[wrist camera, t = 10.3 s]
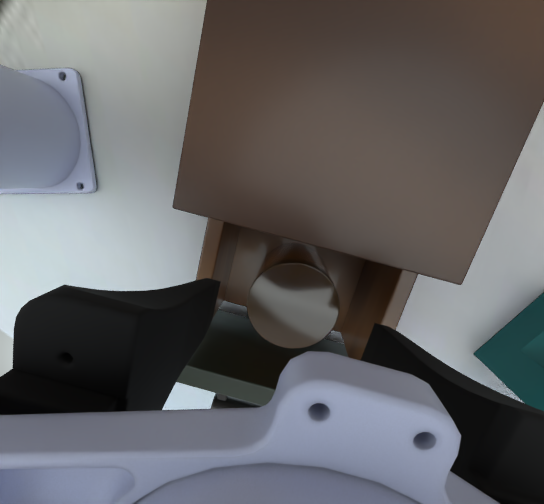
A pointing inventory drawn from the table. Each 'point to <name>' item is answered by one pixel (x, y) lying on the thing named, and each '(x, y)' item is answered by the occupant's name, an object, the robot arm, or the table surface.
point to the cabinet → (363, 122)
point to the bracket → (520, 354)
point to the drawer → (254, 348)
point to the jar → (293, 297)
